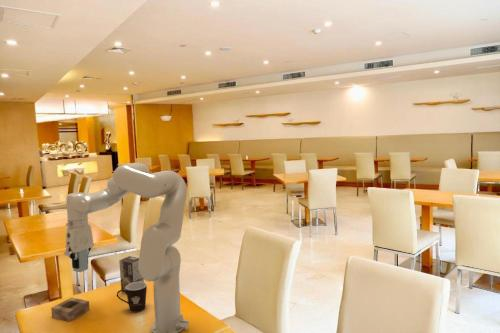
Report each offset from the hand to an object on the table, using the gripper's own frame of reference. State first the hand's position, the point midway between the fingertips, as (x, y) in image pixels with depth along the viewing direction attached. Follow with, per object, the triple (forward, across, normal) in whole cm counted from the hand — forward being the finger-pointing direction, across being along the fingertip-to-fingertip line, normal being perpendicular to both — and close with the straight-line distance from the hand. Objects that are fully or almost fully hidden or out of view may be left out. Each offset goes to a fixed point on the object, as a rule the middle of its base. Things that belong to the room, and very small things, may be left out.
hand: (80, 265), depth 152 cm
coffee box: (+20, +22, -7) cm, 31 cm away
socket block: (+20, -3, +3) cm, 21 cm away
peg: (+2, 0, 0) cm, 2 cm away
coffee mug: (+20, +10, -18) cm, 29 cm away
